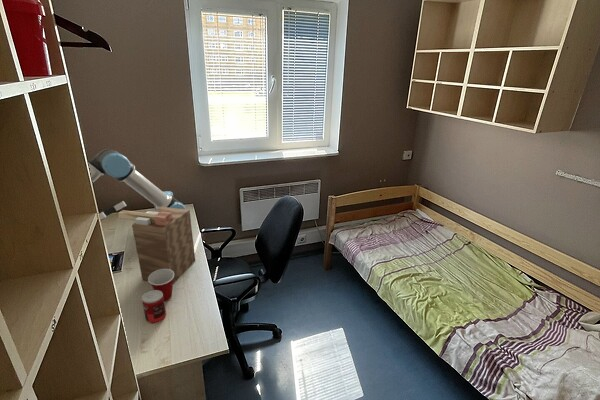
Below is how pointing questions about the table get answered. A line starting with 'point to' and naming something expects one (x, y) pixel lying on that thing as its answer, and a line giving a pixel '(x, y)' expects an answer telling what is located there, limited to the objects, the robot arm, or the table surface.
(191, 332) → the table surface
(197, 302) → the table surface
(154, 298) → the canned food
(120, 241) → the table surface
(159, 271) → the plastic cup
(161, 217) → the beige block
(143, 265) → the wooden tower
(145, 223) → the twin white cubes
